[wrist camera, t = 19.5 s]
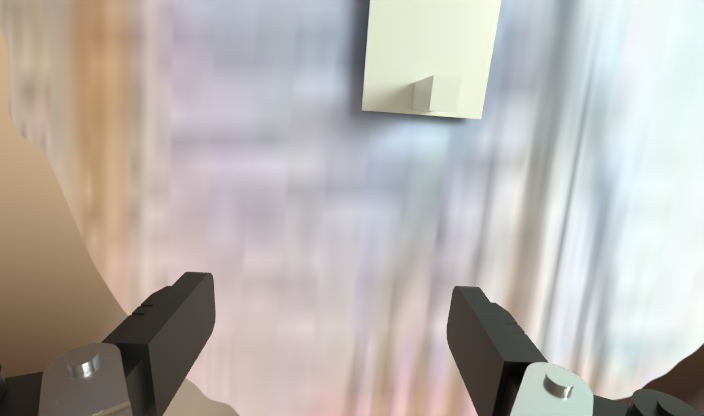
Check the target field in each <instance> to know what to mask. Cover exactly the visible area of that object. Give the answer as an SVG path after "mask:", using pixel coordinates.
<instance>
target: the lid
mask: <svg viewBox="0 0 704 416" xmlns="http://www.w3.org/2000/svg"><path fill="white" fill-rule="evenodd" d="M500 5H501V0H370V6H369V19H368V32H367V45H366V59H365V72H364V85H363V98H362V110H363V111H377V112H390V113H404V114H418V115H431V116H445V117H458V118H472V119H481V115H482V110H483V104H484V98H485V92H486V86H487V80H488V75H489V69H490V63H491V57H492V51H493V46H494V40H495V34H496V28H497V22H498V17H499V11H500Z"/></svg>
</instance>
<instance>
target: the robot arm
mask: <svg viewBox="0 0 704 416" xmlns="http://www.w3.org/2000/svg"><path fill="white" fill-rule="evenodd" d="M214 324H215V298H214V281H213V276H212V274H211V273H202V272H185V273H184V274H183V275H182V276H181V277H180V278H179V279H178V280H177V281H176V282H175V283H174V284H173V285H172V286H166V287H164V288H163V289H161V290H159V291H157V292H155V293H153V294H151V295H150V296H149V297H148V298H147V299H146V300H145V301H144V302H143V303H142V304H141V306H139V307H138V308H137V309H136V310H135V311H134V312H133V313H132V315H129V316H128V317H127V318H126V319H125V320H124V321H123V322H122V323H121V324H120V325H119V326H118V327H117V328H116V329H115V330H114V331H113V332H112V333H111V334H109V336H107V338H105V339H104V340H103V341H102V342H101V343H93V344H88V345H84V346H80V347H77V348H75V349H72V350H70V351H68V352H66V353H64V354H62V355H61V356H59V357H57V358H56V359H55V360H54V361H52V362H51V363H50V364H49V365H48V366H47V367H46V369H45V370H44V372H38V373H33V374H27V375H21V376H15V377H9V378H4V374H3V371H2V367H1V365H0V416H162V415H163V414H164V412H165V411H166V409H167V407H168V406H169V404H170V402H171V401H172V398H173V397H174V396H175V394H176V392H177V390H178V389H179V387H180V386H181V384H182V382H183V381H184V379H185V377H186V376H187V374H188V372H189V371H190V369H191V367H192V366H193V364H194V362H195V361H196V359H197V357H198V356H199V354H200V352H201V351H202V349H203V347H204V346H205V344H206V342H207V341H208V339H209V337H210V336H211V334H212V331H213V328H214ZM447 341H448V345H449V348H450V350H451V352H452V355H453V357H454V360H455V362H456V364H457V367H458V369H459V371H460V374H461V376H462V379H463V381H464V383H465V386H466V388H467V390H468V393H469V395H470V397H471V400H472V402H473V405H474V407H475V409H476V412H477V414H478V416H704V415H703V414H701V413H700V412H699V411H697V410H696V409H695V408H693V407H692V406H690V405H688V404H687V403H685V402H683V401H681V400H680V399H678V398H675V397H673V396H671V395H668V394H666V393H663V392H660V391H656V390H651V389H639V390H637V391H635V392H634V393H633V396H632V398H631V401H630V404H629V405H628V404H624V403H621V402H617V401H614V400H610V399H607V398H603V397H599V396H596V395H593V393H592V391H591V389H590V388H589V386H588V385H587V384H586V383H585V382H584V381H583V380H582V379H581V378H580V377H578V376H577V375H575V374H574V373H572V372H571V371H569V370H567V369H565V368H563V367H560V366H558V365H555V364H551V363H548V361H547V360H546V359H545V358H544V356H543V355H542V354H541V353H540V351H539V350H538V349H537V347H536V346H535V345H534V344H533V342H532V341H531V340H530V339H529V337H528V336H527V335H526V334H524V331H523V330H522V328H521V327H520V326H519V325H517V322H516V321H515V319H514V318H513V317H512V316H511V314H510V313H509V312H508V311H506V310H505V309H503V308H502V307H501V306H499V305H498V304H496V303H491V302H490V301H489V300H488V298H487V297H486V296H485V294H484V293H483V291H482V290H481V289H480V288H479V287H467V286H455V287H454V289H453V293H452V299H451V305H450V311H449V317H448V323H447Z"/></svg>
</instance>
